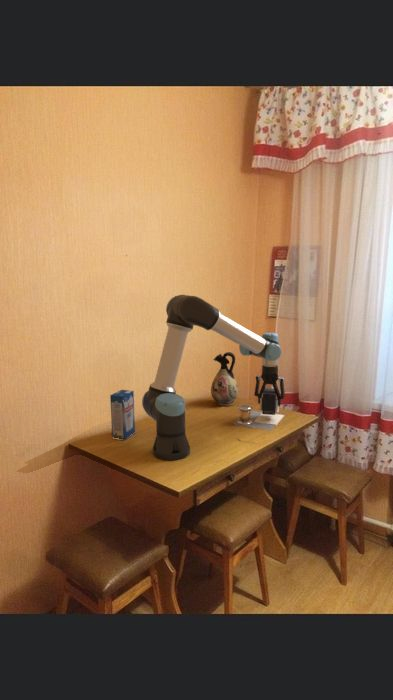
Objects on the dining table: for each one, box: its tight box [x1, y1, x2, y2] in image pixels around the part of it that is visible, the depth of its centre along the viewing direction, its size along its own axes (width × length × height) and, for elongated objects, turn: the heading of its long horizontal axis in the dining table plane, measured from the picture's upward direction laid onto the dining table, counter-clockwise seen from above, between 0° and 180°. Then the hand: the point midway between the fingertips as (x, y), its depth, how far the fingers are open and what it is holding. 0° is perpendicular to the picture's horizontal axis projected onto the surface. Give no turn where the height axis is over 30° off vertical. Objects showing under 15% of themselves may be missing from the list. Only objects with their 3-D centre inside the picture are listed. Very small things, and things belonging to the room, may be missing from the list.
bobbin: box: [237, 404, 253, 425], centre depth 204 cm, size 7×7×8 cm
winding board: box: [232, 410, 286, 431], centre depth 210 cm, size 19×24×2 cm
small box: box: [261, 387, 277, 415], centre depth 208 cm, size 11×6×10 cm, turn 168°
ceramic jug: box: [210, 351, 239, 407], centre depth 238 cm, size 17×15×30 cm
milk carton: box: [109, 389, 136, 440], centre depth 192 cm, size 10×6×20 cm, turn 160°
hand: (269, 411), depth 209 cm, fingers closed on small box, 7 cm apart
